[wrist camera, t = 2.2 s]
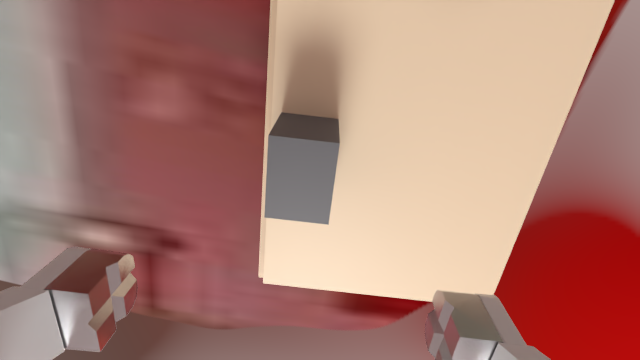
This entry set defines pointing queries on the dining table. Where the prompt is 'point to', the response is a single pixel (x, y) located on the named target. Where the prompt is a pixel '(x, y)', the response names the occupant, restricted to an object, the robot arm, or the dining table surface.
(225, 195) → the dining table surface
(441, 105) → the carton lid
